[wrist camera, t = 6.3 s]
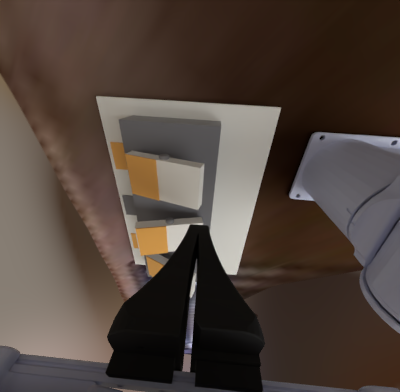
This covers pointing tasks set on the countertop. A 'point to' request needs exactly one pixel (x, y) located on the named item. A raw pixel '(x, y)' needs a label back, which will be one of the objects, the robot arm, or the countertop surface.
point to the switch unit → (196, 152)
